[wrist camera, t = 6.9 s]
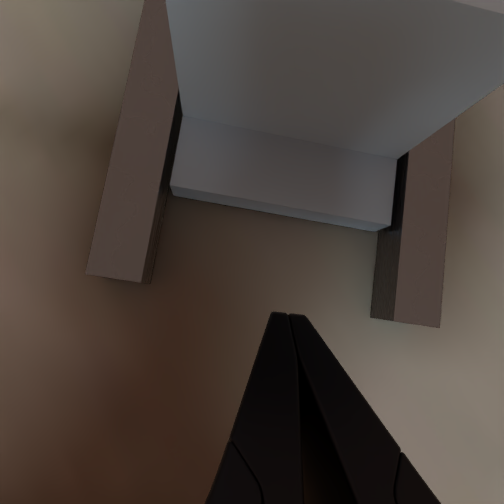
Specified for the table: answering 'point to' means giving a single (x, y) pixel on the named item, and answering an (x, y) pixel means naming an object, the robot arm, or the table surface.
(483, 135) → the table surface
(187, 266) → the table surface
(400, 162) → the vise
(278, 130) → the jaw
